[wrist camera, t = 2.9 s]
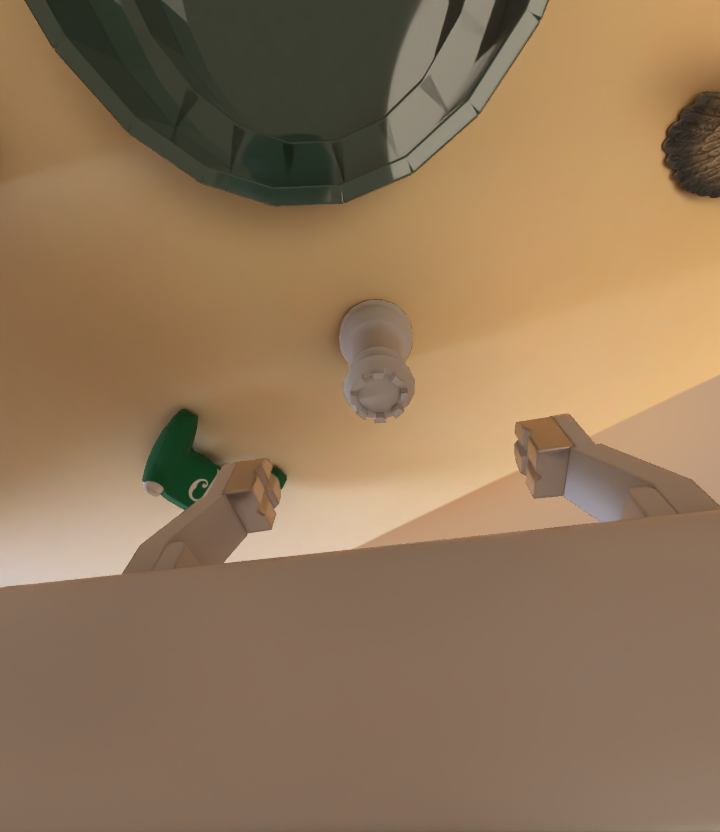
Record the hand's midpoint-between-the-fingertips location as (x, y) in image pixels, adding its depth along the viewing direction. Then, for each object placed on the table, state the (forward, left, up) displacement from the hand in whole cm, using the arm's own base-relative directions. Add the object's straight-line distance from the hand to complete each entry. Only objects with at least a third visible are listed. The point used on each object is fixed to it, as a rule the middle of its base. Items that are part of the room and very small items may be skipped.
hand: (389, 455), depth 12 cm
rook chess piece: (0, 0, -12) cm, 12 cm away
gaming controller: (-15, +4, -12) cm, 20 cm away
